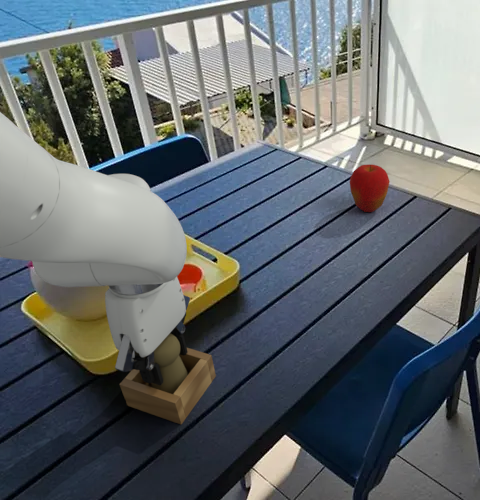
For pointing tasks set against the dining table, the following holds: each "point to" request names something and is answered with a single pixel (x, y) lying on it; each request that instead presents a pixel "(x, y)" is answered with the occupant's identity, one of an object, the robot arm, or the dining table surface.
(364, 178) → the apple
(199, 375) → the frame
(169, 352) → the olive rounded figure
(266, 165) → the dining table surface
